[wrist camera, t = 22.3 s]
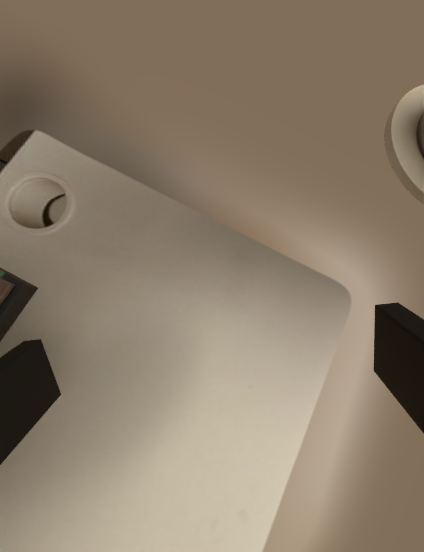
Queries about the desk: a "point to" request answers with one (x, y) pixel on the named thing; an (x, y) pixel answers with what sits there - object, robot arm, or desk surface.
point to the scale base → (14, 301)
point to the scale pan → (5, 289)
